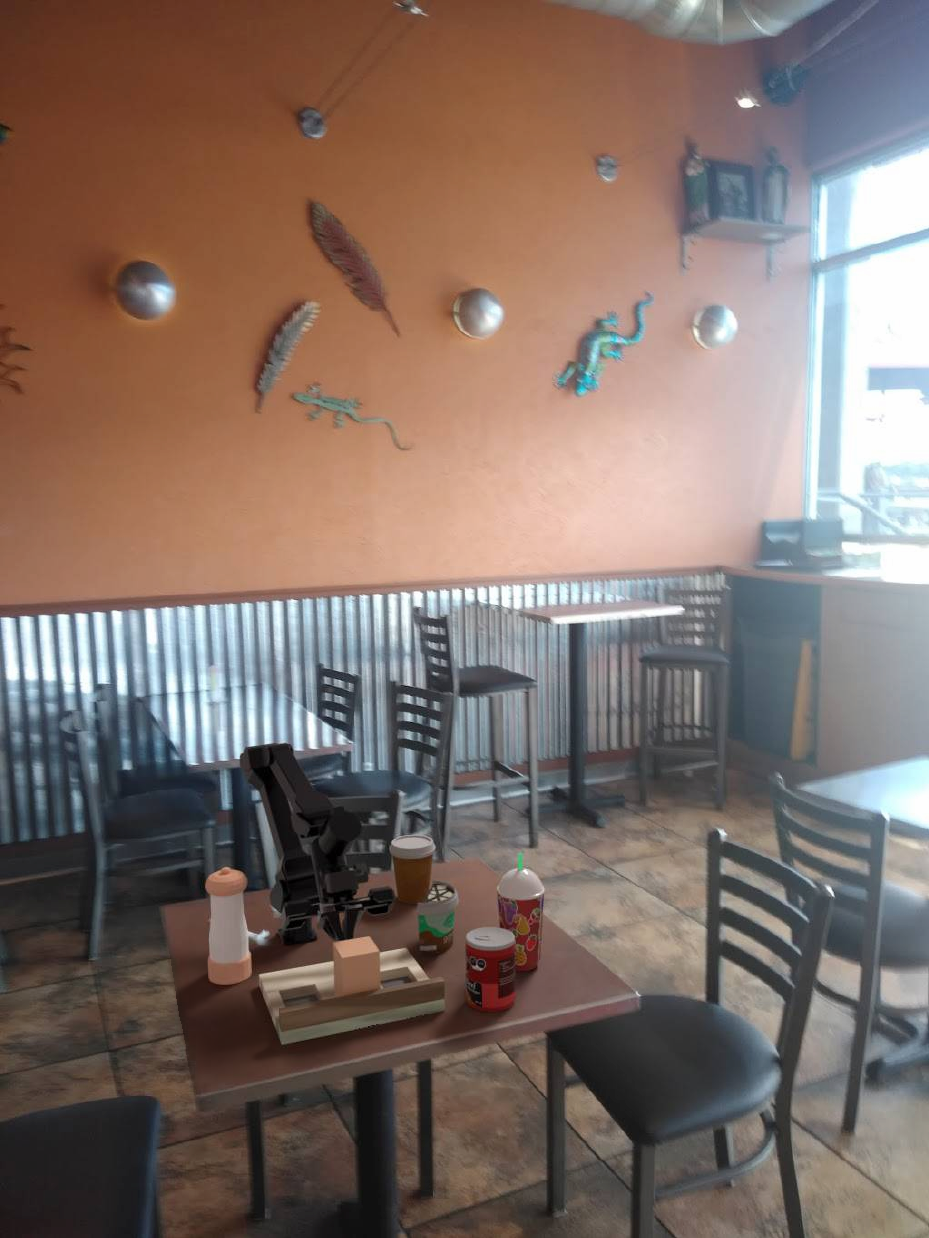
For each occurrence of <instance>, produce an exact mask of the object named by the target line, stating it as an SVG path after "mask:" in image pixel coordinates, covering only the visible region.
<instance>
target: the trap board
mask: <svg viewBox="0 0 929 1238" xmlns="http://www.w3.org/2000/svg"><path fill="white" fill-rule="evenodd" d="M380 981H381V989H376V990H371V991H366V992H361V993H356V994H350V995H345V996H340V997H335V994H334V960H331V961H326V962H322V963H321V962H320V963H315V964H310V965H305V966H298V967H293V968H287V969H283V970H277V971H272V972H266V973H260V974H258V984H259V989H260V991H261V994H262V996H263V1000H264V1002H265V1004H266V1007H267V1010H268V1013H269V1015H270V1017H272V1018H271V1020H272V1023H273V1025H274V1028H275V1031H276V1033H277V1036H278V1038H279V1041H280V1044H281V1045H282V1046H284V1045H288V1044H294V1043H297V1042H298V1043H299V1042H302V1041H308V1040H311V1039H316V1038H322V1037H327V1036H331V1035H336V1034H341V1033H346V1032H349V1031H355V1029H356V1030H359V1028H360V1029H365V1028H368V1026H370V1027H372V1026H371V1025H375V1026H377V1025H376V1024H379V1025H383V1024H388V1023H393V1022H397V1021H402V1020H407V1018H408V1019H411V1018H410V1017H413V1018H417V1017H416V1016H418V1017H420V1016H419V1015H422V1016H425V1015H424V1014H427V1015H431V1014H435V1013H442V1012H445V1011H446V1004H445V1003H446V1001H445V1000H446V999H445V996H446V995H445V994H446V993H445V979H444V978H443V977H442V976H438V977H437V976H436V977H432V978H430V977H429V976H428V975H427V974H426V973H425V971H424V970H423V969H422V967H421V965H420V964H419V963H418V961H416V959H415V958H414V957H413V955H412V954H411V953H410V952H409V950H408V948H407V947H404V948H403V947H402V948H397V949H392V950H387V951H382V952H381V951H380ZM364 1027H365V1028H364Z"/></svg>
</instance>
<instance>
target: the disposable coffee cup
mask: <svg viewBox="0 0 929 1238" xmlns="http://www.w3.org/2000/svg"><path fill="white" fill-rule="evenodd" d="M390 843H391V844H390V846H389V847H388V848H389V849H388V850H389V853H390V854H391V858H392V864H393V866H392V867H393V871H394V879H395V885H396V886H395V888H396V891H397V893H396V894H397V899H398V901H399V900H400V902H401V903H403V904H414V905H415V904H418V903H422V901H423V899H424V897H425V895H426V893H427V892H428V891H429V890H430V889H431V887H430V885H431V877H432V868H433V860H434V859H433V857H434V853H435V851H436V845H435V843H434V840H433V838H431V837H430V836H427V835H426V836H425V835H422V834H421V835H420V834H411V835H410V834H409V835H408V834H407V835H401V836H397V837H395V838H394V839H393V840H391V842H390Z"/></svg>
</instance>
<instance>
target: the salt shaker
mask: <svg viewBox="0 0 929 1238" xmlns="http://www.w3.org/2000/svg"><path fill="white" fill-rule="evenodd" d="M205 880H206V881H205V885H204V886H205V890H206V892H207V893H208V894H209V896H210V914H211V915H210V916H211V917H210V923H209V924H210V925H209V933H208V934H209V935H208V944H209V945H208V946H209V947H208V948H209V950H208V951H209V955H208V957H207V972H208V973H207V974H208V980H209V981H210V982H211V983H213V984H216V985H221V986H223V985H224V986H228V985H234V984H235V985H236V984H238V983H242V982H243V981H246V980H247V979H249V978H250V977H251V976H252V953H251V951H250V950H249V931H248V926H247V921H246V917H245V916H246V915H245V906H244V905H245V904H244V891H245V890H246V887H247V885H248V878H247V876H246V875H245V873H244V872H243V871H241V870H237V869H233V868H231V867H227V866H225V867H222V868H221V869H220V870H217V871H216V872H213V873H211V874H210V875H209V876H208V877H207V879H205Z"/></svg>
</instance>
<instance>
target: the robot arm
mask: <svg viewBox="0 0 929 1238" xmlns="http://www.w3.org/2000/svg"><path fill="white" fill-rule="evenodd" d="M294 754H295V753H294V748H293V745H292V744H291V743H287V742H283V743H280V742H279V743H276V742H273V743H266V744H259V745H252V746H246V747H245V748H244V750H243V752H242V753H240V754H239V766H240V770H242V772H244V776H245V779H246V782H248V784H250V785H251V786H252V787H253V788H254V789H255V790H257V791H258V793H259V795H260V799H261V803H262V806H263V809H264V813H265V816H266V819H267V822H268V827H269V829H270V834H271V838H272V841H273V843H274V847H275V850H276V854H277V858H278V865H277V866H276V867H277V868H276V871H275V874H274V880H275V884H274V886H273V887H272V888H271V890H270V893H269V901H270V906H271V907H272V908H274V910H276V912H278V913H279V914H280V923H281V928H278V929H277V935H278V936H279V938H280V940H281V943H282V944H283V945H285V946H286V945H293V944H298V943H303V942H309V941H315V940H316V941H317V940H318V939H319V936H318V934H317V932H316V930H315V929H314V927H313V918H316V920H317V925H316V928H317V930H323V931H324V932H325V933H326V935H327V936H328V937H329V938H330V939H331V940H332V941H333V942H338V941H344V940H350V939H354V933H355V928H356V925H357V924H359V923H360V922H361V919H362V916H363V914H364V912H365V910H366V913H367V914H368V915H370V916H372V917H375V916H382V915H387V914H390V913H391V911H392V909H393V907H394V905H395V904H396V901H397V898H396V893H395V890H394V889H393V888H392V887H390V886H389V885H388V886H382V887H376V888H375V887H374V888H370V889H369V891H368V894H367V896H365V897H358V898H355V896H356V895H357V893H358V890H359V889H360V886H359V885H361V884H366V883H368V882H369V879H370V878H369V872H368V867H367V864H366V862H362V863H356V864H354V865H353V866H352V869H350V867H349V864H347V863H348V862H347V858H346V855H347V854H348V853H349V852H350V850H351V848H352V847H353V846H354V844H355V843H356V841H357V839H358V838H359V836H360V835H361V833H362V828H363V826H362V821H361V819H359V818H358V817H357V816H356V815H355V814H354V813H352V812H350V811H347V810H345V807H344V806H343V805H337V806H335V804H334V803H333V802H332V801H331V800H330V798H329V797H328V796H327V795H326V794H324V793H322V792H319V791H318V790H316V789H315V788H314V786H313V785H312V783H311V781H310V780H309V777H307V775H306V773H305V772H304V769H303V768H302V766H301V765H300V763H299V761H298V760H297V758H296V757H295V755H294ZM291 808H292V809H291ZM317 836H318V837H317ZM313 837H316V838H315V839H313V841H312V842H311V844H310V846H309V850H308V852H306V851H305V850H304V848H303V846H302V845H303V844H302V842H301V839H308V838H313ZM340 914H343V920H342V923H341V917H340Z"/></svg>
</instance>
